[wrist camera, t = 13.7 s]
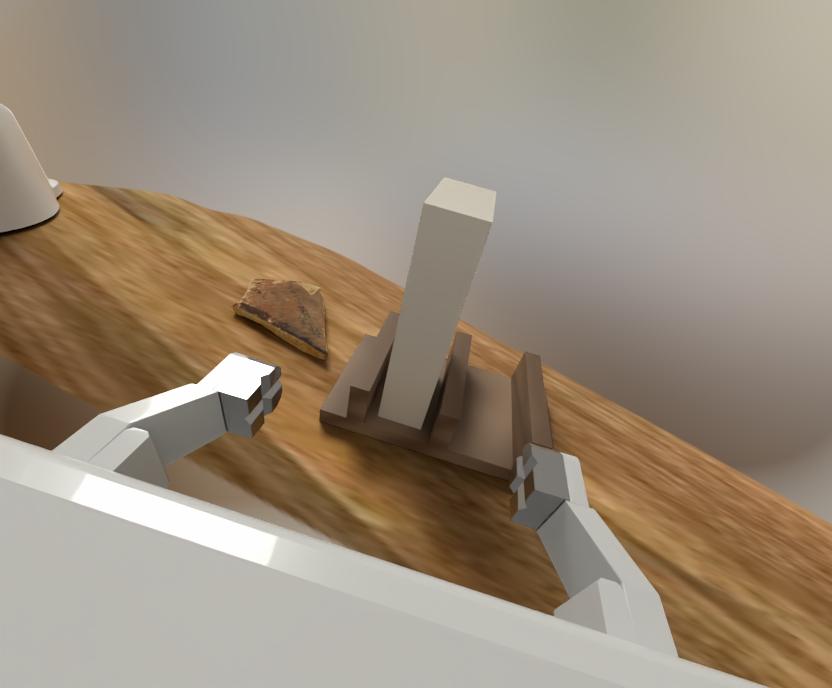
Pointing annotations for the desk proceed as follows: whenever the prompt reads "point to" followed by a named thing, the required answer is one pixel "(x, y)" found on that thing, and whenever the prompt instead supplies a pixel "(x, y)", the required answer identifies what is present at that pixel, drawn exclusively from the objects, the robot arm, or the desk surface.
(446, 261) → the clay bar
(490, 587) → the desk surface
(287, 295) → the shard
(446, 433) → the drying rack
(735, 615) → the desk surface
